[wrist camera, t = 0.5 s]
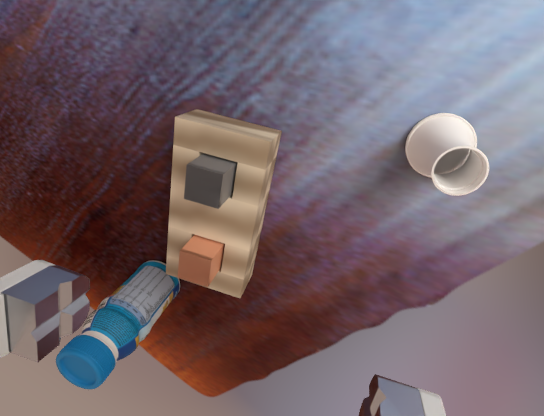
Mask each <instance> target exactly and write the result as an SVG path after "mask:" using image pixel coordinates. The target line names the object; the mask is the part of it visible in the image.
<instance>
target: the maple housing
mask: <svg viewBox="0 0 544 416" xmlns="http://www.w3.org/2000/svg"><path fill="white" fill-rule="evenodd" d="M281 132H282V131H280V130H276V129H272V128H268V127H264V126H260V125H257V124H253V123H249V122H245V121H241V120H237V119H233V118H229V117H225V116H221V115H217V114H214V113H210V112H206V111H202V110H198V109H196V110H193V111H190V112H187V113H185V114H182V115H179V116H176V117H175V126H174V143H173V160H172V177H171V193H170V210H169V227H168V244H167V260H166V274H167V275H171V276H174V277H177V278H178V265H179V253H180V250H181V249H182V248H183V247H184V246H185V245H186V243H187V242H188V241H189V240H190V239H191V238H192V237H193V236H194V235H198V236H201V237H204V238H208V239H211V240H214V241H217V242H221V243H224V244H225V248H224V255H223V261H222V267H221V268H220V270H219V271H218V273H217V274H216V276H215V277H214V279H213V280H212V282H211V283H210V285H209V286H208V287H207V288H210V289H213V290H216V291H219V292H222V293H225V294H228V295H231V296H235V297H238V298H241V296H242V294H243V292H244V290H245V288H246V286H247V284H248V282H249V280H250V278H251V276H252V272H253V267H254V262H255V258H256V253H257V248H258V243H259V238H260V233H261V229H262V224H263V219H264V214H265V209H266V204H267V200H268V195H269V190H270V185H271V180H272V175H273V171H274V166H275V161H276V156H277V151H278V146H279V142H280V137H281ZM204 153H205V154H209V155H213V156H216V157H220V158H224V159H227V160H231V161H235V162H238V164H237V170H236V177H235V183H234V190H233V194H232V195H231V196H230V197H229V198H228V199H227V200H226V201H225V202H224V203H223V205H222V206H221V207H220V208H219V209H217V208H213V207H210V206H206V205H203V204H200V203H196V202H193V201H189V200H186V199H184V191H185V178H186V166H187V164H188V163H190V162H191V161H193V160H194V159H196V158H197V157H199V156H200V155H202V154H204ZM180 279H181V278H180ZM183 280H184V279H183ZM186 281H187V280H186ZM189 282H190V281H189ZM192 283H193V282H192ZM195 284H196V283H195ZM198 285H199V284H198ZM201 286H202V285H201ZM204 287H205V286H204Z"/></svg>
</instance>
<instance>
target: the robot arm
mask: <svg viewBox="0 0 544 416" xmlns="http://www.w3.org/2000/svg"><path fill="white" fill-rule="evenodd" d="M89 289H90V282H89V278H88V277H86V276H85V275H82V274H80V273H77V272H74V271H71V270H69V269H66V268H63V267H61V266H58V265H54V264H51V263H49V262H46V261H43V260H35V261H33V262H31V263H29V264H27V265H25V266H23V267H21V268H19V269H17V270H15V271H13V272H11V273H9V274H7V275H5V276H3V277H1V278H0V358H1V357H3V356H6V355H8V354H9V352H10V353H13V354H16V355H18V356H21V357H24V358H27V359H30V360H33V361H35V362H39V361H40V360H41V359H43V358H44V357H45V356H46V355H48V354H49V353H50V352H51V351H52V350H54V349H55V348H56V347H57V346H59V343H60V339H61V337H65V336H67V335H71V334H73V333H74V332H75V331H76V330H78V329H79V328H80V327H81V326H82V324H83V323H84V321H85V319H86V318H87V315H88V312H89V305H90V302H89V300H88V298H87V296H86V295H85V293H86V292H87V291H88V290H89ZM369 394H370V395H369V397H367V398H365V399H364V400H363V403H362V406H361V409H360V412H359V416H446V413H445V410H444V406H443V403H442V399H441V397H440V396H439V395H438V394H435V393H432V392H429V391H426V390H423V389H419V388H415V387H412V386H409V385H406V384H403V383H400V382H397V381H394V380H391V379H388V378H385V377H382V376H379V375H376V374H375V375H374V377H373V378H372V380H371V383H370V385H369Z"/></svg>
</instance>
